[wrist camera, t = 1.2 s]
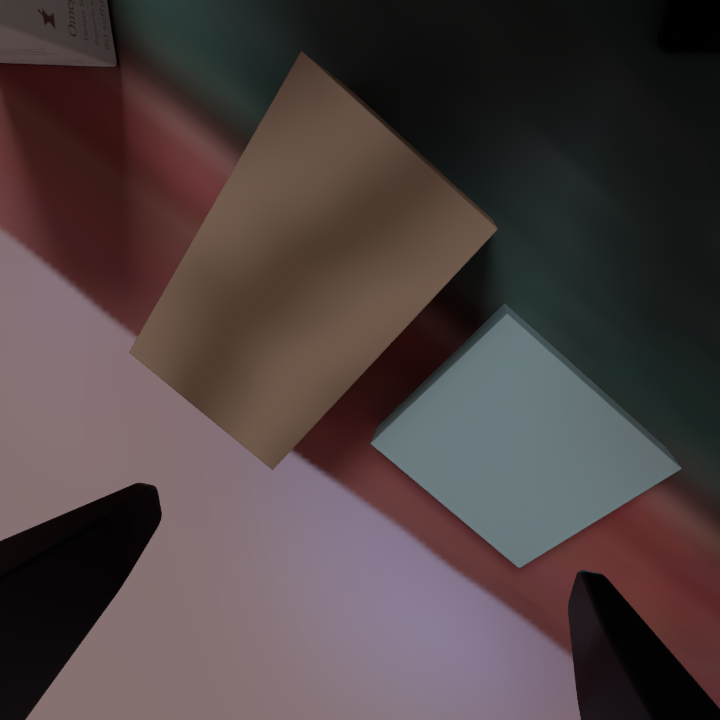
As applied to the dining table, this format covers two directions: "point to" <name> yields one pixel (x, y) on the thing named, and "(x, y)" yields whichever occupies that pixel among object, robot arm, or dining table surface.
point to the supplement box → (56, 32)
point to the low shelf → (306, 265)
